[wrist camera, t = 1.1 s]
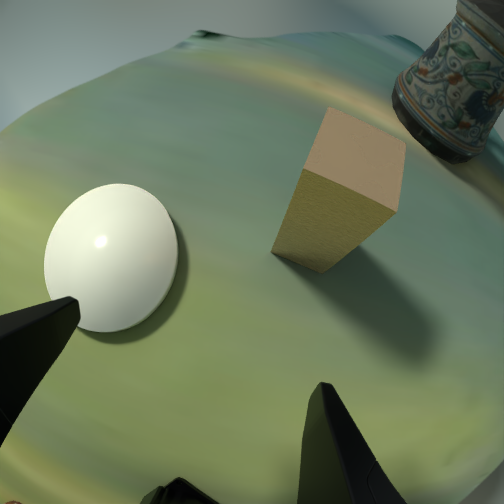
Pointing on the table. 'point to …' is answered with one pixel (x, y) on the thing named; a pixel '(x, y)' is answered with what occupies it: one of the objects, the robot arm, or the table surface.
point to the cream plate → (112, 256)
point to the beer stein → (456, 84)
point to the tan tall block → (341, 192)
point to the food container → (12, 502)
